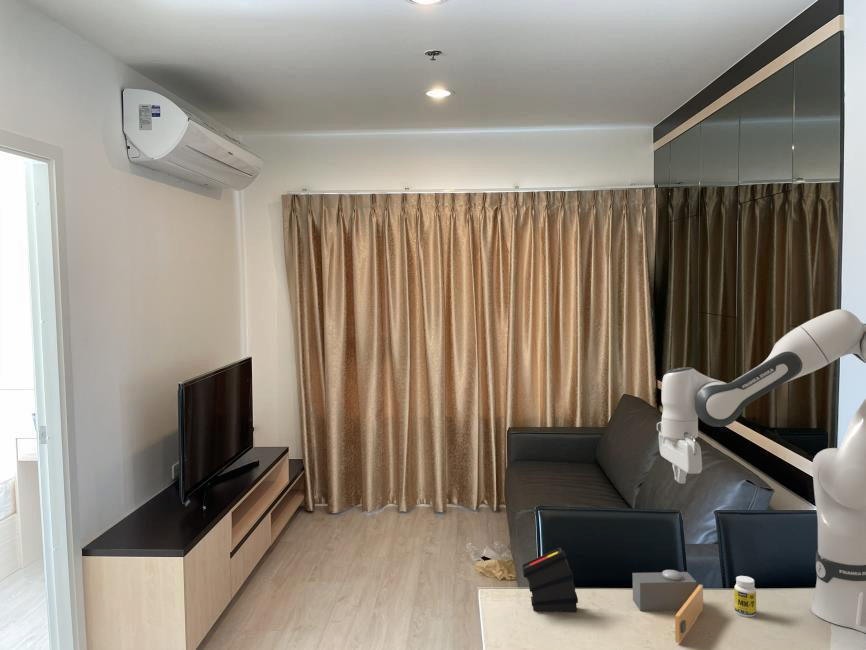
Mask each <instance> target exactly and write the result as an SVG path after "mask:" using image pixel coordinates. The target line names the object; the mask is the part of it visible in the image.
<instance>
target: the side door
mask: <svg viewBox="0 0 866 650" xmlns="http://www.w3.org/2000/svg"><path fill="white" fill-rule="evenodd" d="M703 586H704V585H703V584H700V583H699V584H698V585H697V588H696V589H695V591H694V592H693V593H692V595H691V596H690V597H689V599H688V600H687V601H686V602H685V604H684V605H683V606H682V608H681V609H680V610H677V613H676V614H675V616H674V619H675V620H674V622H675V623H674V624H675V627H674V628H675V631H674V632H675V634H674V635H675V639H674V640H675V643H677V644H680V643H681V642H682V640H683V639H684V638H685V636H686V635H687V633H688V631H689V630H690V628H691V627H692V626H693V624H694V623H695V622H696V620H697V619H698V618H699V616H700V614H701V613H702V612H703V611H704V591H703V590H704V587H703Z"/></svg>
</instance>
